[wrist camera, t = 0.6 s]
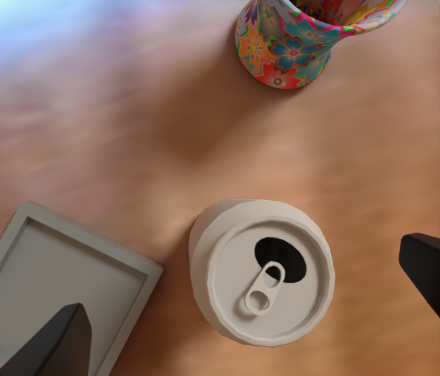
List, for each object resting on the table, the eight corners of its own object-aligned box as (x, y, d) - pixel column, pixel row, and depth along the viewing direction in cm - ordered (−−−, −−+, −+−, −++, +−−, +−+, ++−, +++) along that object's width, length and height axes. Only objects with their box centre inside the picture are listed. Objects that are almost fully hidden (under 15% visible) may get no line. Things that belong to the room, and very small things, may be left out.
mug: (233, 99, 26) (265, 35, 16) (224, -7, 27) (249, -141, 16) (364, 93, 28) (474, 29, 17) (354, -9, 28) (457, -133, 18)
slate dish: (95, 399, 24) (89, 412, 23) (-46, 337, 23) (-61, 346, 22) (164, 266, 25) (163, 270, 24) (32, 201, 24) (22, 201, 23)
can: (292, 231, 27) (379, 258, 15) (243, 305, 26) (293, 396, 14) (221, 181, 26) (252, 167, 14) (170, 255, 25) (157, 306, 14)
